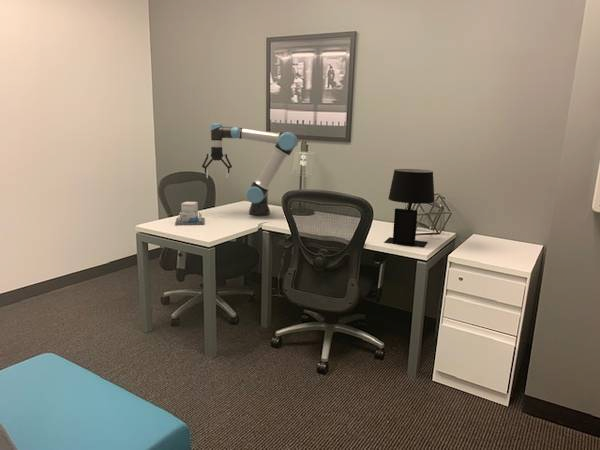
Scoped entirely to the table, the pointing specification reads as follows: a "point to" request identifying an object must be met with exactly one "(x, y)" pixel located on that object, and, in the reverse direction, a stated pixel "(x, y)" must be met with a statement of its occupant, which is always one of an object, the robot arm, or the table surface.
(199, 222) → the chassis
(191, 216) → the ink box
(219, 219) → the table surface
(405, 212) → the table lamp
